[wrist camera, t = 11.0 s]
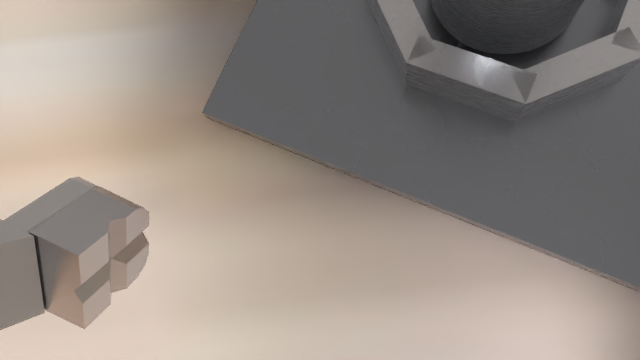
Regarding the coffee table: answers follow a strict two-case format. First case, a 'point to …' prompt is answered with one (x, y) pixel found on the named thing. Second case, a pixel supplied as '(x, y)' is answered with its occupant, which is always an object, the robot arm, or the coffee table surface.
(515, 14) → the metal cylinder
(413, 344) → the coffee table surface
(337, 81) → the flange
